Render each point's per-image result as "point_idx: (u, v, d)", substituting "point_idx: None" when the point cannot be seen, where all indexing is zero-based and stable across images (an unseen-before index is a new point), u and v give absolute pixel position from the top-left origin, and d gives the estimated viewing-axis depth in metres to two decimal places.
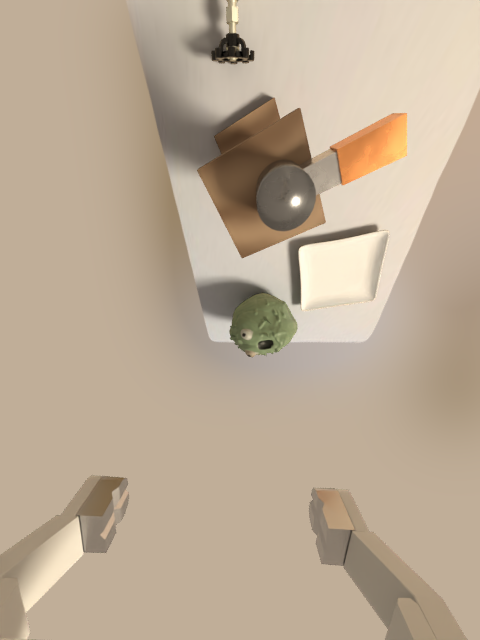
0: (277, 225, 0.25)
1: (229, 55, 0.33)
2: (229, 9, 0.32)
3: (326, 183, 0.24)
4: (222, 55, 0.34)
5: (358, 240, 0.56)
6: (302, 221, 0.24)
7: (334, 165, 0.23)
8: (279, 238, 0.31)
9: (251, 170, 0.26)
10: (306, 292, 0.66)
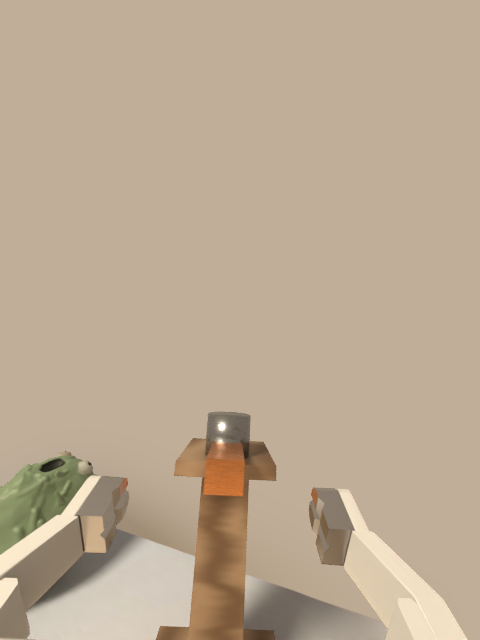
0: (217, 412, 0.34)
1: None
2: None
3: (220, 441, 0.27)
4: None
5: None
6: (210, 414, 0.31)
7: None
8: (189, 447, 0.33)
9: (250, 450, 0.33)
10: None
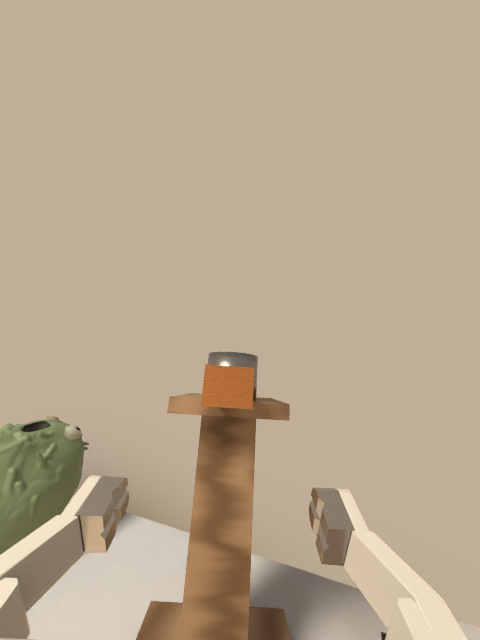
0: None
1: None
2: None
3: None
4: None
5: None
6: (211, 353, 0.27)
7: None
8: None
9: (256, 399, 0.29)
10: None
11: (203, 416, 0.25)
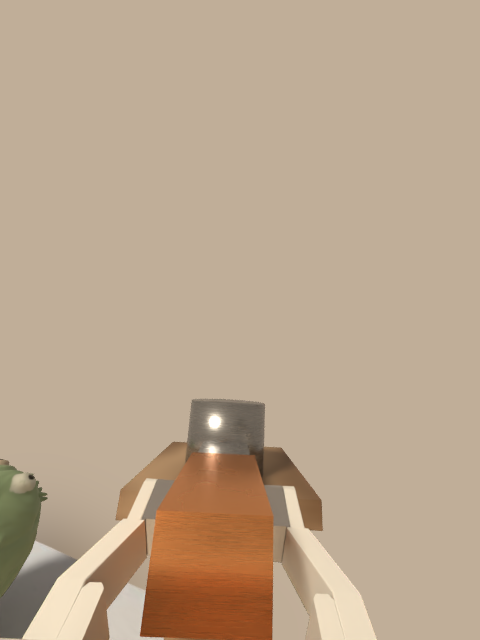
0: (207, 399, 0.20)
1: None
2: None
3: (210, 449, 0.14)
4: None
5: None
6: (194, 400, 0.18)
7: None
8: (161, 458, 0.19)
9: None
10: None
11: None
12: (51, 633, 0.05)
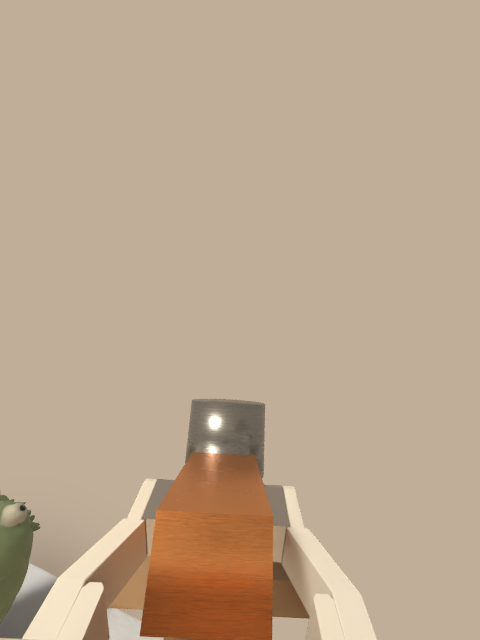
0: (208, 399, 0.20)
1: None
2: None
3: (210, 449, 0.14)
4: None
5: None
6: (195, 400, 0.18)
7: None
8: None
9: None
10: None
11: None
12: (51, 633, 0.05)
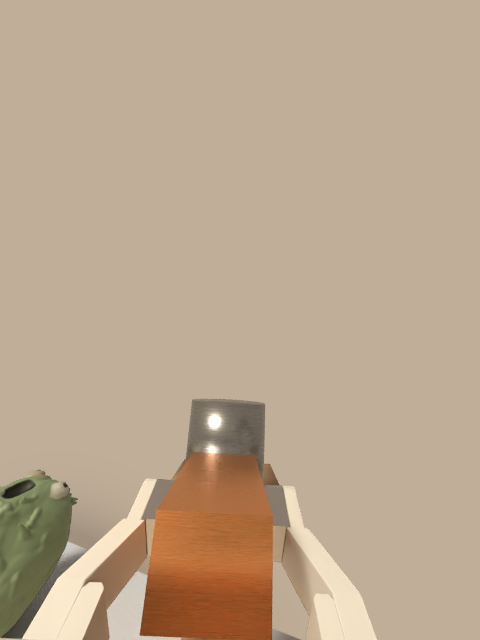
0: (208, 399, 0.20)
1: None
2: None
3: (210, 449, 0.14)
4: None
5: None
6: (195, 400, 0.18)
7: None
8: None
9: None
10: None
11: None
12: (51, 633, 0.05)
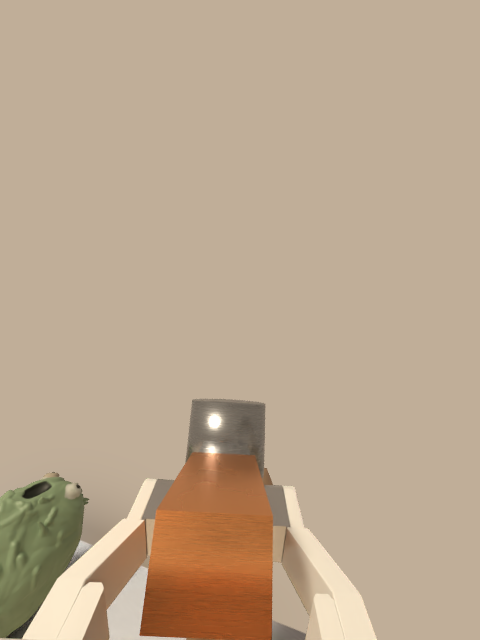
0: (208, 399, 0.20)
1: None
2: None
3: (210, 449, 0.14)
4: None
5: None
6: (195, 400, 0.18)
7: None
8: None
9: None
10: None
11: None
12: (51, 633, 0.05)
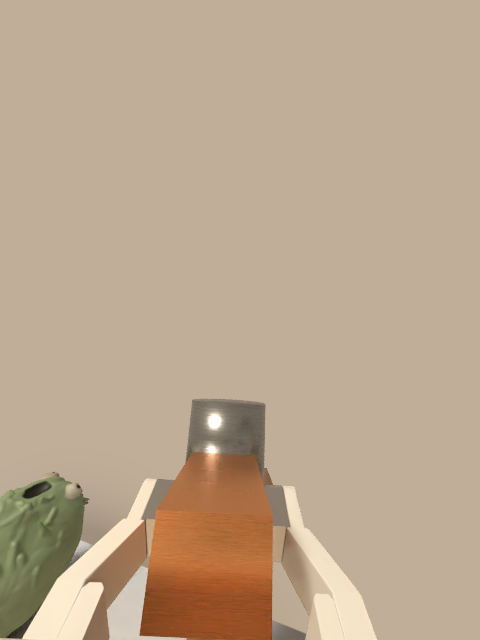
0: (208, 399, 0.20)
1: None
2: None
3: (210, 449, 0.14)
4: None
5: None
6: (195, 400, 0.18)
7: None
8: None
9: None
10: None
11: None
12: (51, 633, 0.05)
